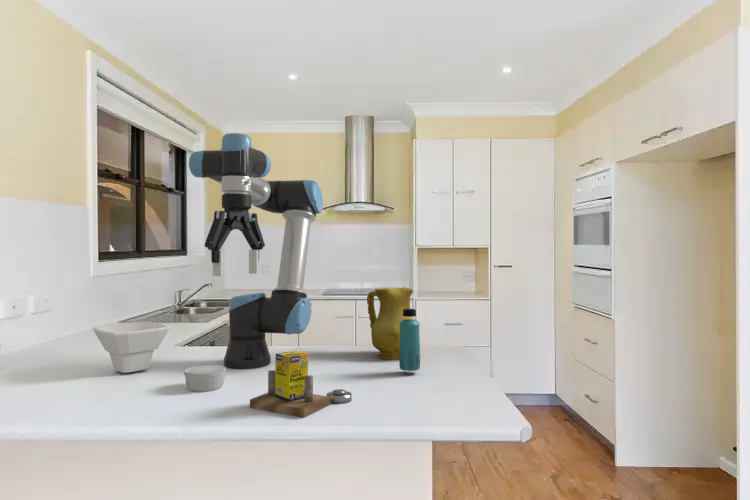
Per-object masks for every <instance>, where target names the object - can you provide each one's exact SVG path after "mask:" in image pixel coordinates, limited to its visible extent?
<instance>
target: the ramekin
mask: <svg viewBox="0 0 750 500" xmlns="http://www.w3.org/2000/svg"><path fill="white" fill-rule="evenodd" d="M226 373H227V367H226V366H224V365H221V364H202V365H196V366H190V367H188V368H186V369H184V371H183V376H184V378H185V384H186V388H187V389H188V390H189V391H191V392H194V393H206V392H213V391H216V390H220V389H221V388H222V387H223V386H224V384H225V383H224V382H225V377H226Z"/></svg>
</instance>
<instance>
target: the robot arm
mask: <svg viewBox="0 0 750 500" xmlns="http://www.w3.org/2000/svg"><path fill="white" fill-rule="evenodd" d="M188 168H189V171H190V174H191V175H192V176H194V177H196V178H202V179H206V178H209V179H211V180H213V181H215V182H217V183H218V184H221V193H223V194H222V195H221V208H222V209H224V210H215V211H214V214H213V220H212V224H211V225H210V229H209V231H208V234H207V237H206V239H205V242H204V247H205V248H207V249H208V251H211V252H210V255H211V256H210V257H211V261H210V262H211V263H212V276H213V277H224V250H223V249H222V247H223V246H224V244H225V242H226V240H227V238H229V235H230V234H231V232H232V231H233V230H239V231H240V232H241V233H242V235H243V236H244V239H245V240H246V242H247V245H249V247H250V249H248V274H255V275H256V274H257V275H258V274H259V262H260V250H263V249H264V248H265V246H266V243H265V241H264V237H263V234H262V232H261V229H260V224H259V223H258V222H259V221H258V214H257V213H249V210H250V209H252V206H254V207H256V208H258V209H261V210H263V211H266V212H269V213H272V214H281V215H282V218H283V219H284V220H285V224H284V232H283V238H282V246H281V247H282V248H281V255H280V263H279V270H278V277H277V286H276V287H275V288H273V289H272V290H271V295H270V297H267V296H266V293H265V292H257V293H249V294H248V293H247V294H241V295H236V296H233V297H231V299H230V300H229V307H228V308H229V309H228V313H229V314H228V317H229V318H228V319H229V321H228V322H229V323H228V326H229V337H228V339H229V342H228V345H227V347H226V350H225V355H224V358H223V366H224V367H226V368H230V369H255V368H260V367H265V366H268V365H270V364H271V363H272V359H271V354H270V352H269V347H268V345H267V341H266V334H285V335H297V334H300V335H301V334H302V333H303V332H305V330H306V329H307V328H308V326H309V323H310V321H311V317H312V302H311V300H310V299H309V298H307V296H308V295H307V292H306V291H305V290H304V284H305V275H306V266H307V258H308V257H307V256H308V250H309V241H310V240H309V239H310V231H311V224H312V223H313V222H315V221H316V218H317V214H321V213H322V212H323V208H324V201H323V200H324V199H323V194H322V190H321V187H320V185H319V183H318V182H317V181H315V180H313V179H312V180H309V179H303V180H301V179H300V180H298V179H296V180H266V179H264V177H266V176H267V175H268V174H269V173H270V171H271V168H272V161H271V159H270V156H268V155H267V154H266V153H265V152H263V151H261V150H258V149H256V148H253V144H252V138H251V136H250V135H248V134H245V133H237V132H235V133H234V132H232V133H226V134H224V135H222V139H221V148H220V150H218V149H217V150H215V149H214V150H213V149H211V150H203V149H202V150H198V151H193V152H192V153H191V154H190V156H189V160H188ZM221 249H222V250H221Z"/></svg>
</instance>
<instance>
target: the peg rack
mask: <svg viewBox="0 0 750 500" xmlns="http://www.w3.org/2000/svg"><path fill="white" fill-rule="evenodd" d="M267 371H268V372H267V373H268V374H267V376H268V377H267V383H268V384H267V385H268V386H267V390H268V391H267V392H266V393H263V394H260V395H258V396H255V397H252V398H250V399H249V408H250V409H254V410H260V411H265V412H271V413H277V414H283V415H288V416H294V417H299V418H307V417H309V416H310V415H312V414H315V413H317V412H318V411H320V410H322V409H324V408H326V407H328V406H330V405H331V403H330V397H328V396H327V395H320V394H315V393H314V375H311V374H308V375H307V376H305V398H301V399H297V400H293V401H290V402H288V401H285V400H282V399H279V398H277V397H275V369H273V370H267Z"/></svg>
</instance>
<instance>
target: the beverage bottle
mask: <svg viewBox="0 0 750 500" xmlns="http://www.w3.org/2000/svg"><path fill="white" fill-rule="evenodd" d="M416 311H417V310H416V309H415V308H410V309H403V316H408V317H412V316H413V317H416V316H417V312H416ZM399 325H400V346H399V347H400V350H399V351H400V353H399V360H398V361H399V370H401V371H405V372H414V371H419V370H420V368H421V345H420V342H421V339H420V325H421V324H420V322H419V321H418V320H417V319H415V318H413V319H404V320H402V321H401V322H400V324H399Z"/></svg>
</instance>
